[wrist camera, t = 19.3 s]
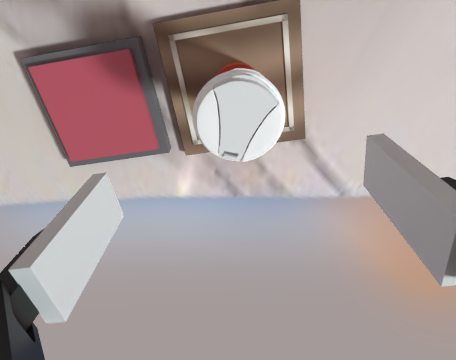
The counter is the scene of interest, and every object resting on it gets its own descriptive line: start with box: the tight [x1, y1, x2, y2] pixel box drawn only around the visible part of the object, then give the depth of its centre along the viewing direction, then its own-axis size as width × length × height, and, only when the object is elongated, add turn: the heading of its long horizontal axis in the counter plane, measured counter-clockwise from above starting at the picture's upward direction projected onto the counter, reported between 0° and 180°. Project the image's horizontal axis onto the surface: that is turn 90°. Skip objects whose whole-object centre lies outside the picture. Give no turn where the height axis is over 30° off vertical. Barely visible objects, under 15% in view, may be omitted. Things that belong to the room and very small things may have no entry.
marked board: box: [153, 0, 305, 155], centre depth 36 cm, size 16×16×1 cm
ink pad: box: [20, 36, 171, 167], centre depth 37 cm, size 14×14×2 cm
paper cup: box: [192, 62, 285, 162], centre depth 29 cm, size 8×8×14 cm
